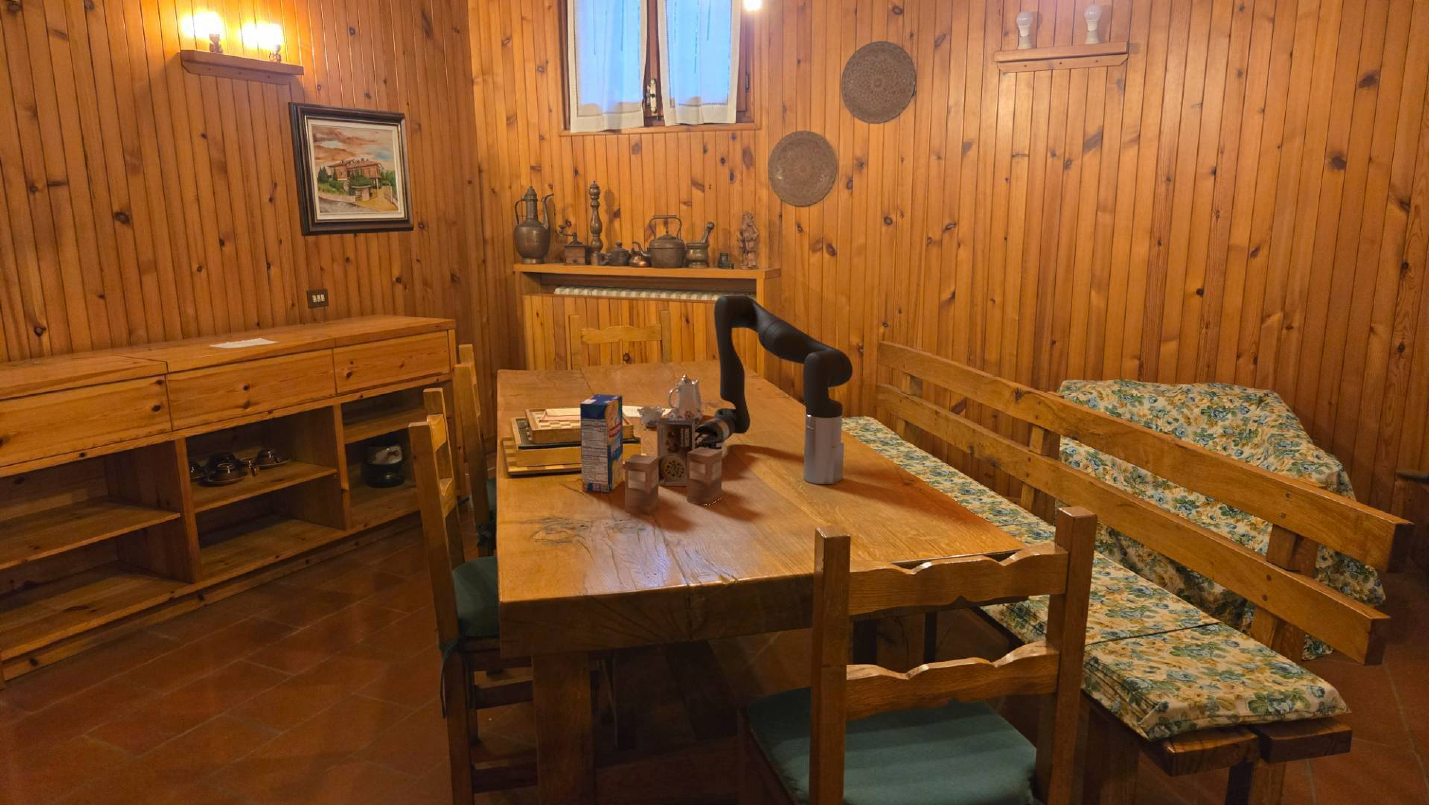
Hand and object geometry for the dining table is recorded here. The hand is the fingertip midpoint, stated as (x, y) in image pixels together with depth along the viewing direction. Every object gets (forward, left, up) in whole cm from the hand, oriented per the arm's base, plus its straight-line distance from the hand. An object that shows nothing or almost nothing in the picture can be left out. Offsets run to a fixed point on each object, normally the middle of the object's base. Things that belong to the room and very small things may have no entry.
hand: (687, 450), depth 239 cm
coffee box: (0, +5, -7) cm, 9 cm away
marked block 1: (-4, +26, -7) cm, 28 cm away
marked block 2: (-13, +13, -7) cm, 20 cm away
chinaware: (+32, -47, -7) cm, 57 cm away
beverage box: (+14, +17, -7) cm, 23 cm away
